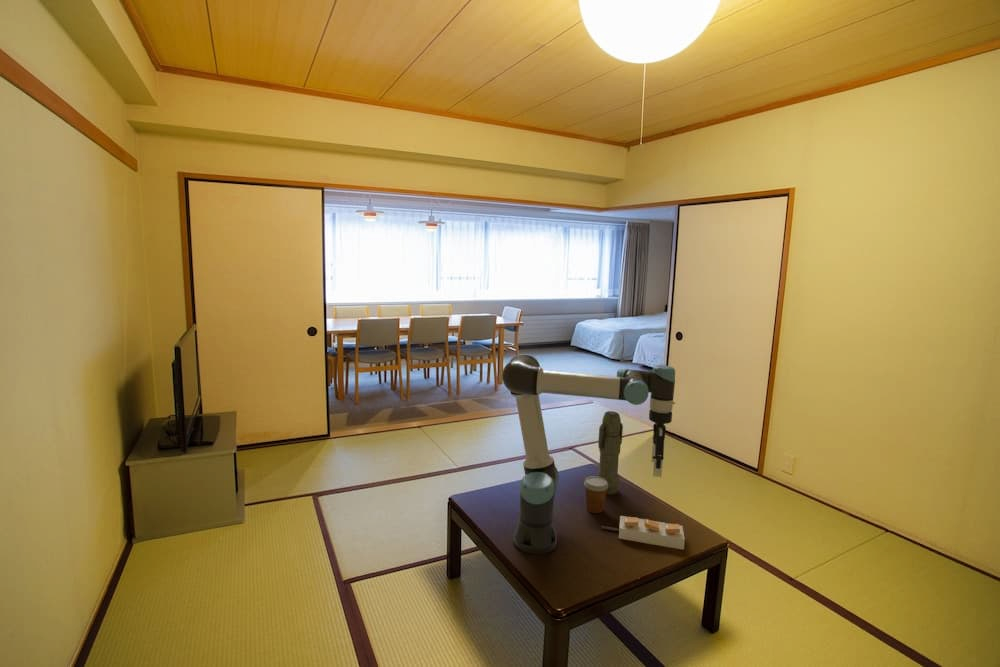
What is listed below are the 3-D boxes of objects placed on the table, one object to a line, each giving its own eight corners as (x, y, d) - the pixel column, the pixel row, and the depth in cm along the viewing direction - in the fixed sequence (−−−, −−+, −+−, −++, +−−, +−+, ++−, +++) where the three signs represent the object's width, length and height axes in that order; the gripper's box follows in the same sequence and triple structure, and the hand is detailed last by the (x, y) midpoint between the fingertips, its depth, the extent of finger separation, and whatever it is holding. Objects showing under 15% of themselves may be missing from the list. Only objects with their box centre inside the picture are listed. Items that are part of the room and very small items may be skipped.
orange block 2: (644, 526, 168) (645, 523, 168) (644, 521, 171) (645, 518, 171) (657, 531, 167) (659, 528, 167) (657, 526, 170) (658, 523, 170)
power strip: (600, 535, 172) (601, 523, 171) (602, 522, 180) (602, 511, 180) (683, 549, 164) (684, 537, 163) (681, 535, 173) (682, 524, 172)
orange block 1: (624, 526, 170) (624, 522, 170) (624, 521, 173) (624, 517, 173) (638, 525, 169) (637, 521, 168) (638, 520, 172) (637, 517, 172)
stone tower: (624, 490, 206) (629, 413, 201) (605, 497, 200) (610, 418, 195) (608, 482, 214) (613, 408, 208) (590, 489, 207) (594, 412, 202)
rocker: (665, 533, 166) (665, 529, 166) (665, 527, 169) (664, 524, 169) (680, 532, 165) (679, 528, 165) (679, 527, 168) (678, 523, 168)
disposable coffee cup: (605, 504, 194) (606, 476, 192) (608, 516, 185) (610, 487, 183) (581, 502, 195) (583, 475, 193) (583, 514, 186) (585, 485, 184)
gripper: (675, 421, 152) (670, 485, 155) (669, 401, 175) (665, 457, 178) (651, 419, 154) (646, 482, 157) (648, 399, 177) (644, 454, 180)
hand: (656, 469), depth 167 cm, fingers open, 12 cm apart
